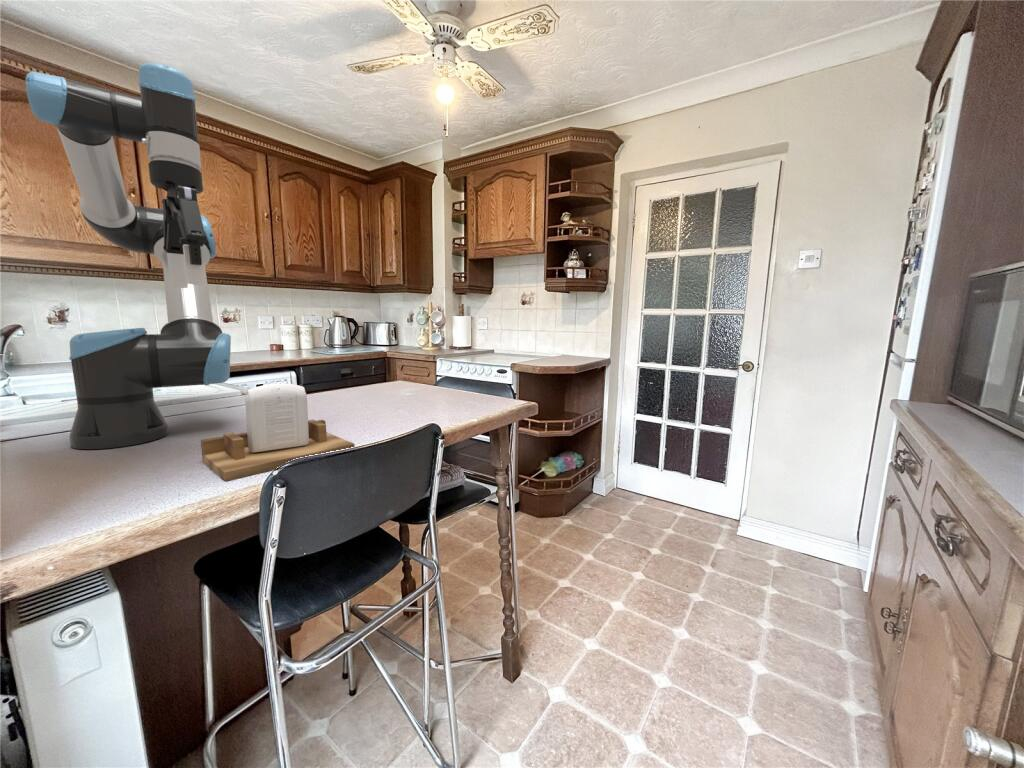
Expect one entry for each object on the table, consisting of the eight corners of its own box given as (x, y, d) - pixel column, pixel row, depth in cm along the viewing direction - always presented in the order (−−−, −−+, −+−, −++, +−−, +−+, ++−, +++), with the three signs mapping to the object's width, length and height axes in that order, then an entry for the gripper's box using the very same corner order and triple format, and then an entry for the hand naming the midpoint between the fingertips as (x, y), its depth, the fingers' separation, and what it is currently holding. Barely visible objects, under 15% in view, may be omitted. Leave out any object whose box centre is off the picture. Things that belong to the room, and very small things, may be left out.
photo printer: (307, 440, 84) (303, 380, 82) (312, 445, 81) (308, 383, 79) (247, 449, 78) (242, 384, 76) (250, 455, 74) (244, 387, 73)
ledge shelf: (202, 461, 75) (199, 434, 75) (323, 437, 92) (322, 415, 91) (225, 481, 66) (222, 451, 66) (354, 450, 83) (353, 426, 82)
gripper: (136, 175, 80) (149, 287, 83) (162, 139, 64) (176, 281, 67) (185, 185, 86) (195, 290, 89) (220, 154, 69) (231, 284, 72)
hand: (187, 286), depth 78 cm, fingers open, 13 cm apart
